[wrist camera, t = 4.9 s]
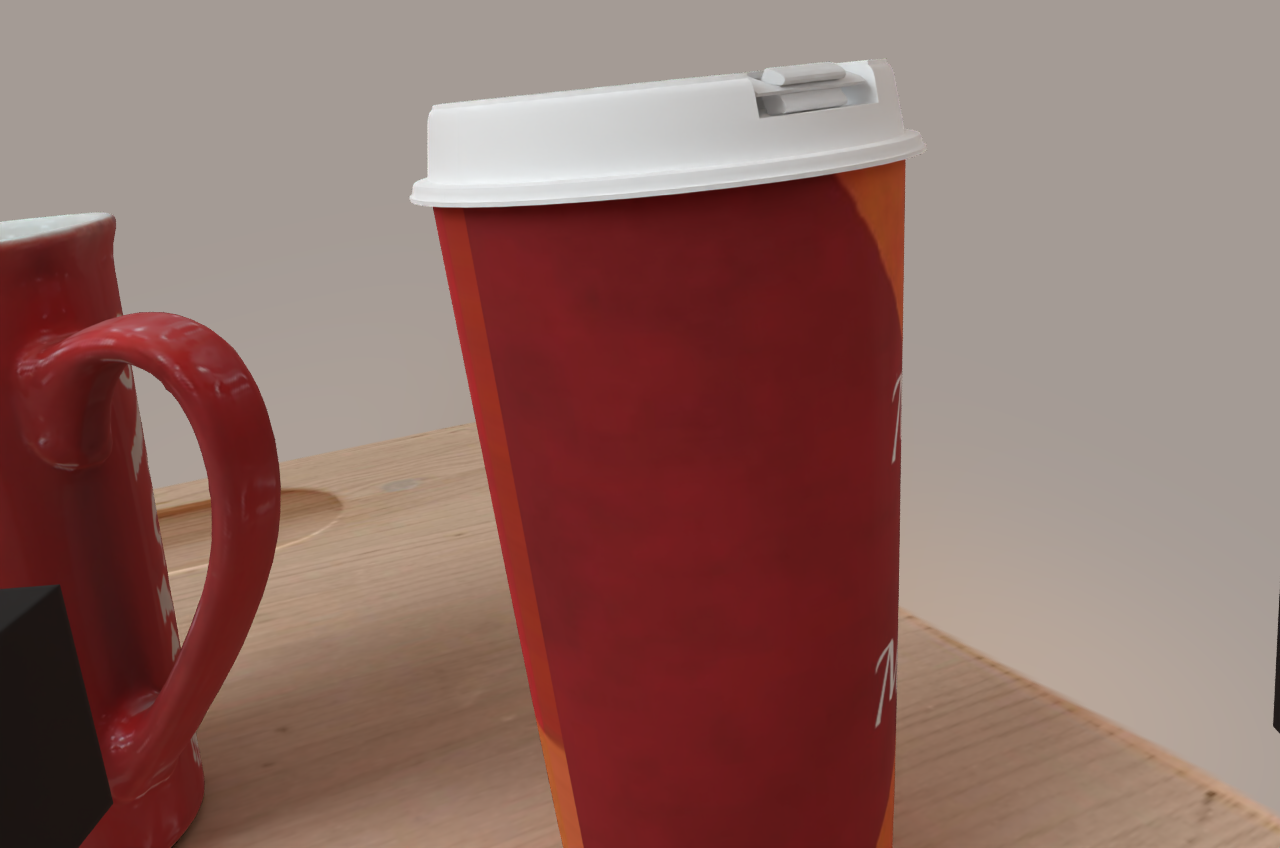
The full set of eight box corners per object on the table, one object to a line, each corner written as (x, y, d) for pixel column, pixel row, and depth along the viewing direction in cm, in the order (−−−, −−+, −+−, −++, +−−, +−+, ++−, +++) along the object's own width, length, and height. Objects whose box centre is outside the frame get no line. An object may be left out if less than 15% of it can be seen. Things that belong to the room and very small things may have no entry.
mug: (-305, 938, 25) (-541, 295, 21) (47, 718, 33) (-82, 222, 29) (167, 1071, 20) (-35, 268, 17) (446, 776, 28) (351, 190, 25)
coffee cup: (1047, 886, 22) (1038, 40, 18) (710, 1144, 18) (599, 85, 14) (741, 727, 29) (685, 76, 25) (437, 884, 24) (306, 115, 20)
